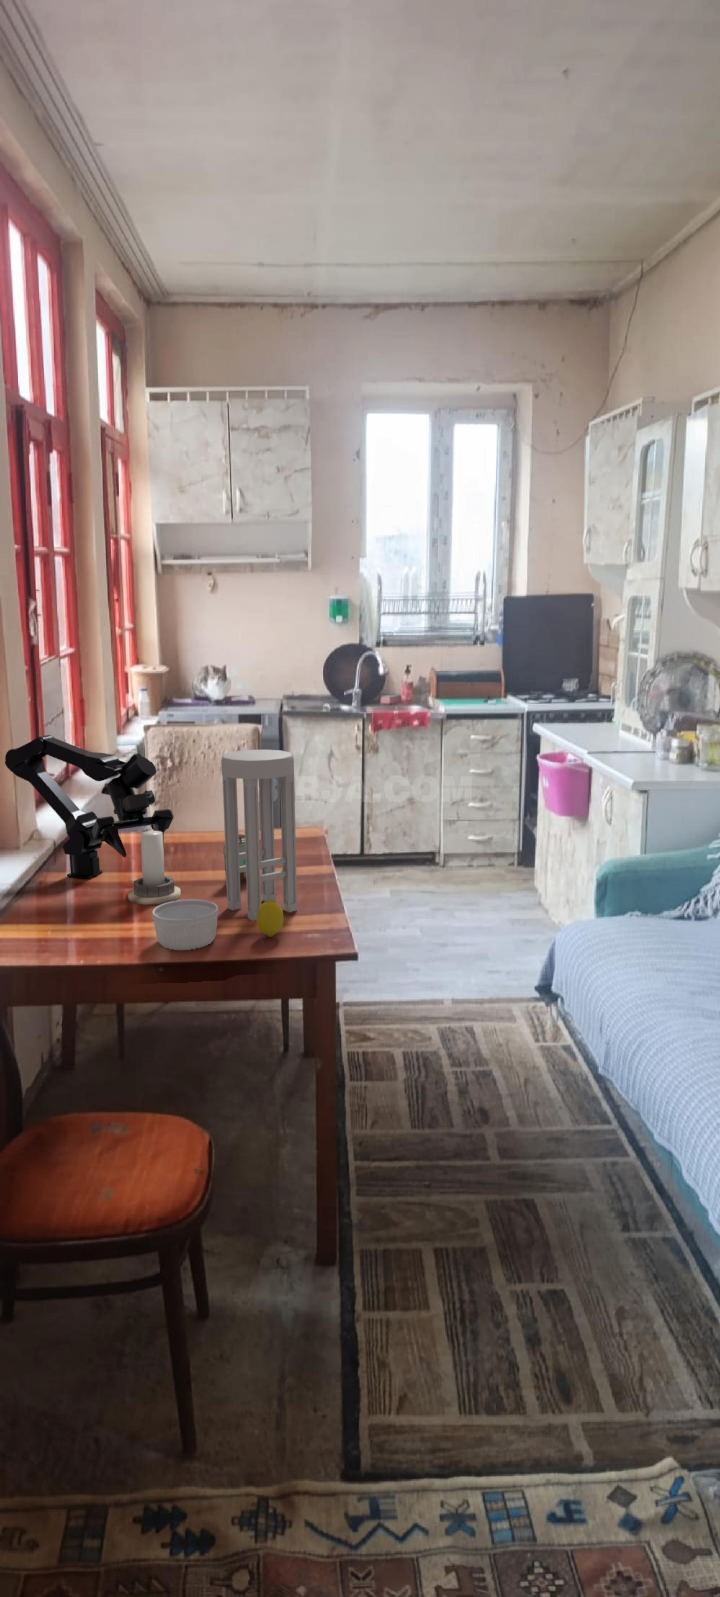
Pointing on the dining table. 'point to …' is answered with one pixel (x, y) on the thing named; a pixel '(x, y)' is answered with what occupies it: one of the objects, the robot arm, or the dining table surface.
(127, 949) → the dining table surface
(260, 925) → the lemon
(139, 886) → the socket
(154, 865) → the white smooth rounded part
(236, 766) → the stool
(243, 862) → the food container
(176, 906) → the ramekin
